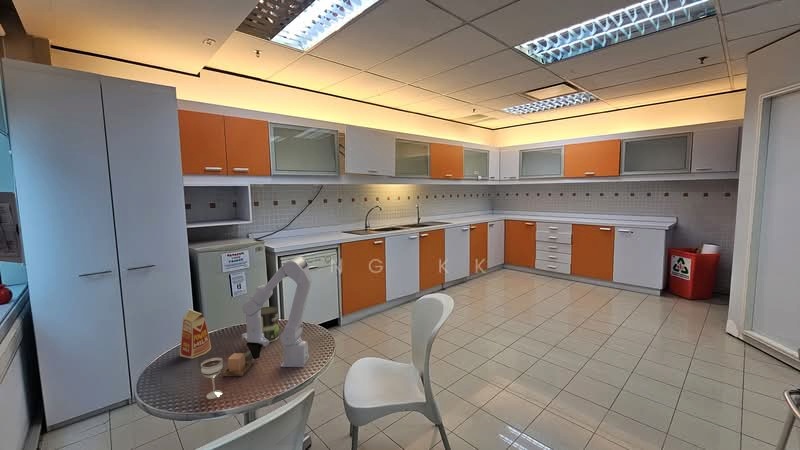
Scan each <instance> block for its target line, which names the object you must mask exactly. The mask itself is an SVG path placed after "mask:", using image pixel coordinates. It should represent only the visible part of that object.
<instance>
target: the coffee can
mask: <svg viewBox="0 0 800 450" xmlns="http://www.w3.org/2000/svg"><path fill="white" fill-rule="evenodd" d="M261 325H262V333H263V334H264V337H265V338H266V339H267V340H269V343H271V342H275V341H277V340H278V339H280V332H279V331H280V329H279V315H278V307H276V306H264V307H262V308H261Z"/></svg>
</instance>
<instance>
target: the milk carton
mask: <svg viewBox="0 0 800 450" xmlns="http://www.w3.org/2000/svg"><path fill="white" fill-rule="evenodd" d="M187 309H188V312H187V313H186V314H185V315H184V316H183V318H182V328H181V337H180V338H181V339H180V348H179V349H180V350H179V357H183V358H187V359H195V358H198V357H201V356H202V355H206V354H207V353H208V352H209V351H211V349H212V345H211V339H210V335H209V331H208V330H209V329H208V325H207V321H206V318H205V316H203V313H201V312H198V311H195V310H193V309H192V308H187Z"/></svg>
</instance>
